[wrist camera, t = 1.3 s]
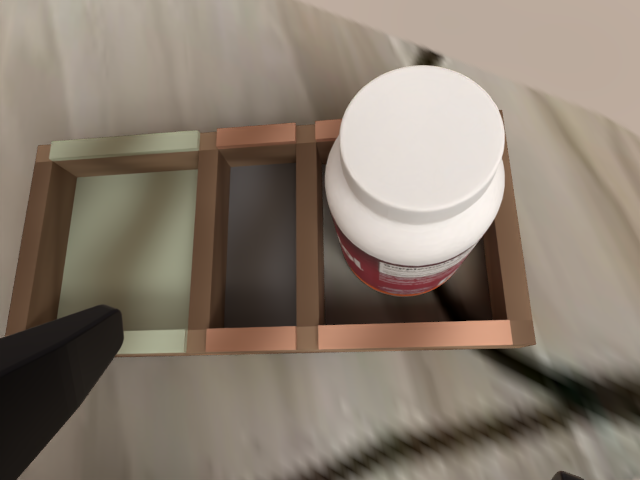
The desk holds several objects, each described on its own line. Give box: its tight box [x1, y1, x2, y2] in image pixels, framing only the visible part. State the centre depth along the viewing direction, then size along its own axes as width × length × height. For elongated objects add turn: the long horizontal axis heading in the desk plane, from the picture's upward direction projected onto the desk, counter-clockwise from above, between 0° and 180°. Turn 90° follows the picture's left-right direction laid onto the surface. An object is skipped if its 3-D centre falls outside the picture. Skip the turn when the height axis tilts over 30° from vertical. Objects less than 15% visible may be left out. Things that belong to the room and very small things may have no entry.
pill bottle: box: [325, 65, 505, 297], centre depth 18 cm, size 6×6×11 cm
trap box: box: [5, 110, 536, 357], centre depth 23 cm, size 24×11×3 cm, turn 91°
